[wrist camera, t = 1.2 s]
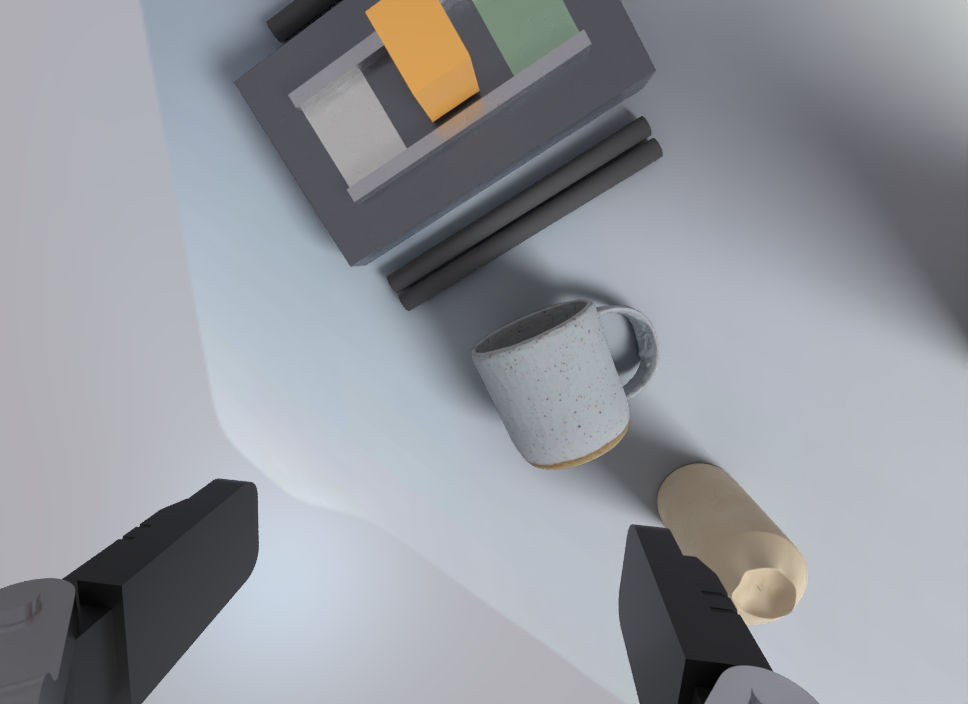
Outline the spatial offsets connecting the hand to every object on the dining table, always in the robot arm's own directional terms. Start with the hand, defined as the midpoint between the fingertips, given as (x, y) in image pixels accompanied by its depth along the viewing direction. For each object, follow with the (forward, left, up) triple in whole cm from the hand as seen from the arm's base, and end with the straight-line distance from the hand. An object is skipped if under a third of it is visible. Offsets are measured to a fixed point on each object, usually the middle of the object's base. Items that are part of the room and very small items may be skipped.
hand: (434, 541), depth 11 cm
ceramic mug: (-4, +3, -24) cm, 24 cm away
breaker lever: (-5, -15, -20) cm, 26 cm away
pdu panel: (-5, -15, -23) cm, 28 cm away
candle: (-6, +16, -24) cm, 29 cm away
